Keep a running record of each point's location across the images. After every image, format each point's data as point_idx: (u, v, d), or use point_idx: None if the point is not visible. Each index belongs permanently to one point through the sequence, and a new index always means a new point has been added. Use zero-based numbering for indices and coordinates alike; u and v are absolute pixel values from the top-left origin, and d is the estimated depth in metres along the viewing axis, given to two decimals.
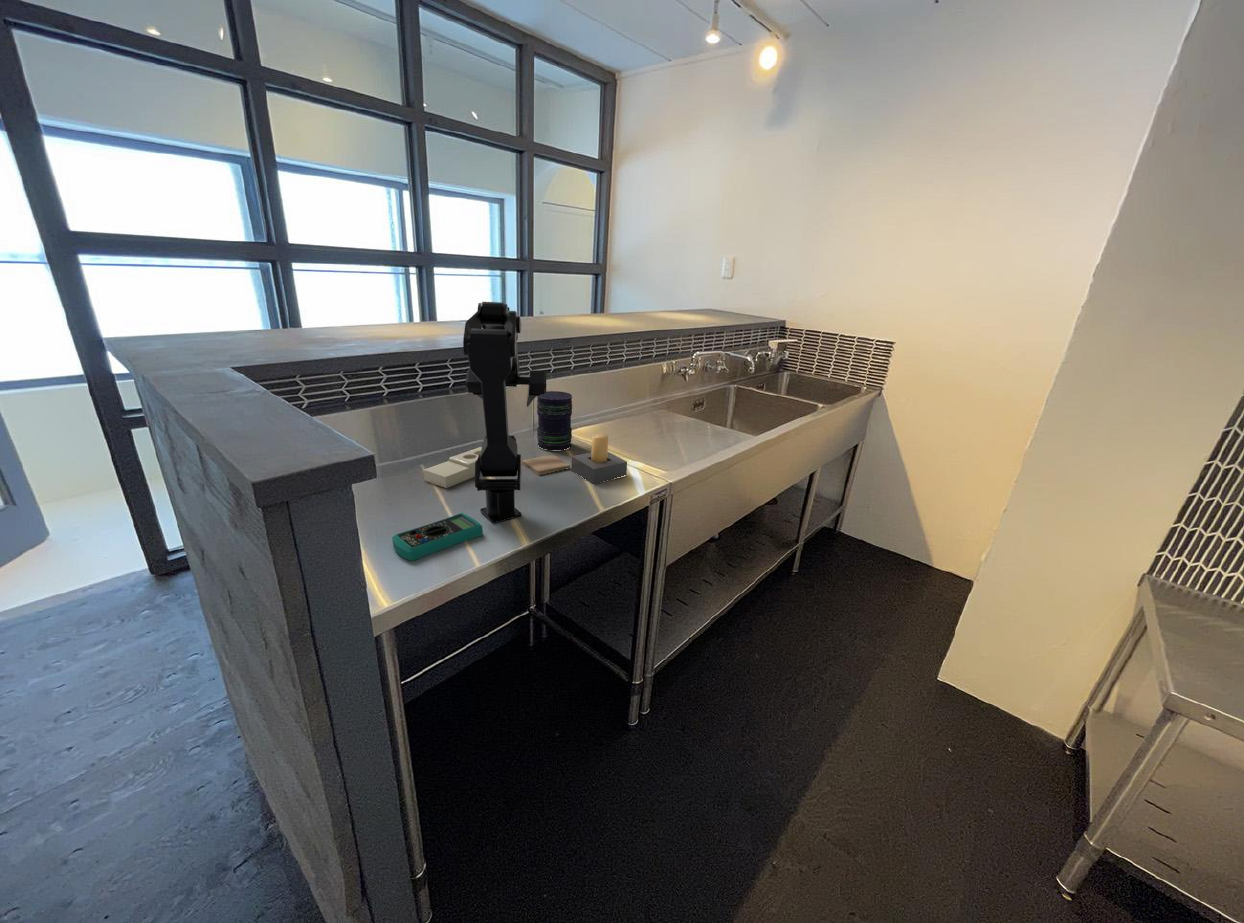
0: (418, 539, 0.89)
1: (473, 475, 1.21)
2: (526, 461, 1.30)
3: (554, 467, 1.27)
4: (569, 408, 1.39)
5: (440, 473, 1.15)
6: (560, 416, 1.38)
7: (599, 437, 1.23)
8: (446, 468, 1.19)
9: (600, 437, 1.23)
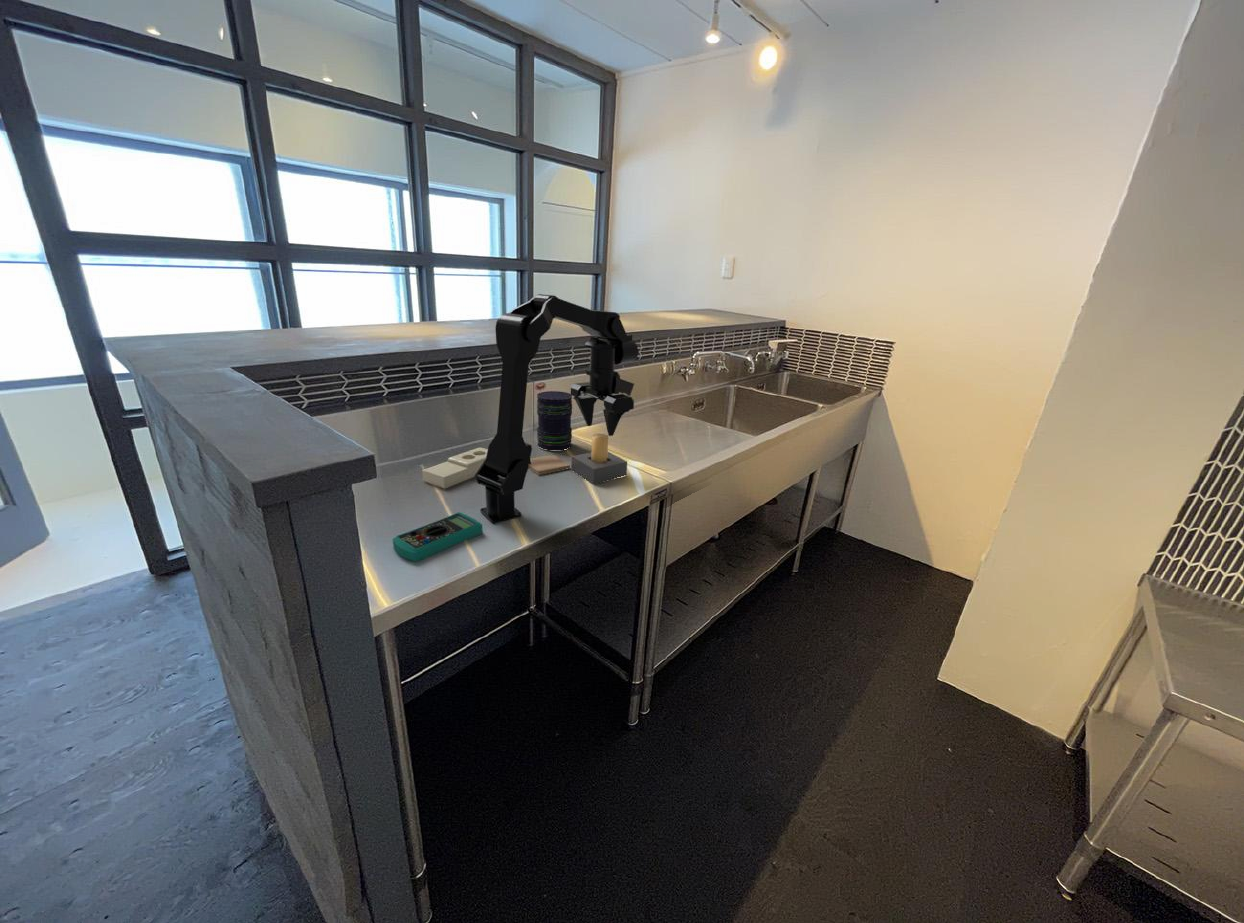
0: (420, 540, 0.89)
1: (472, 475, 1.21)
2: None
3: (554, 467, 1.27)
4: (569, 408, 1.39)
5: (439, 473, 1.15)
6: (560, 416, 1.38)
7: (599, 437, 1.23)
8: (445, 468, 1.18)
9: (600, 437, 1.23)
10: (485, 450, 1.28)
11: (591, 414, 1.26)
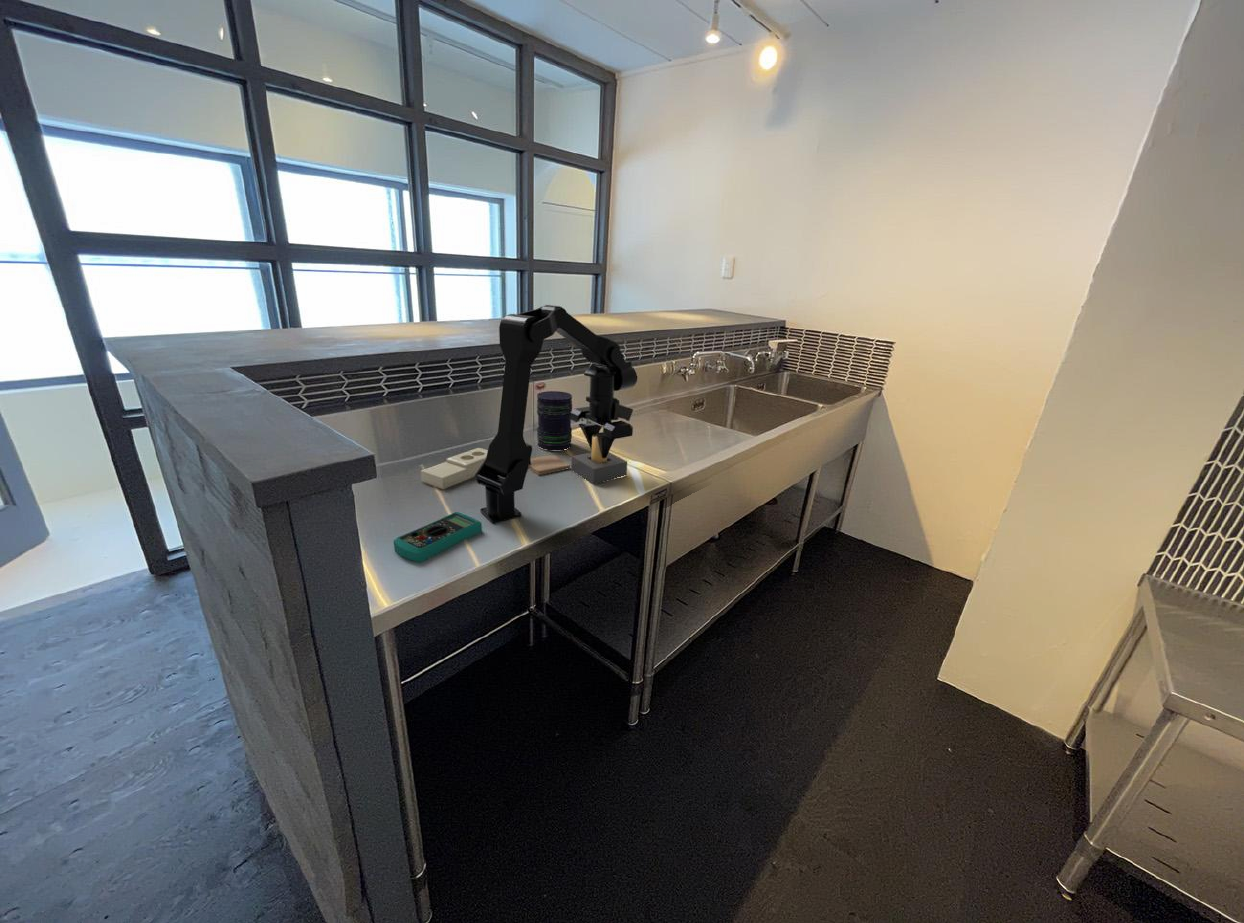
0: (422, 540, 0.89)
1: (470, 476, 1.21)
2: None
3: (554, 467, 1.27)
4: (569, 408, 1.39)
5: (437, 474, 1.15)
6: (560, 416, 1.38)
7: None
8: (443, 468, 1.18)
9: None
10: (484, 450, 1.28)
11: None
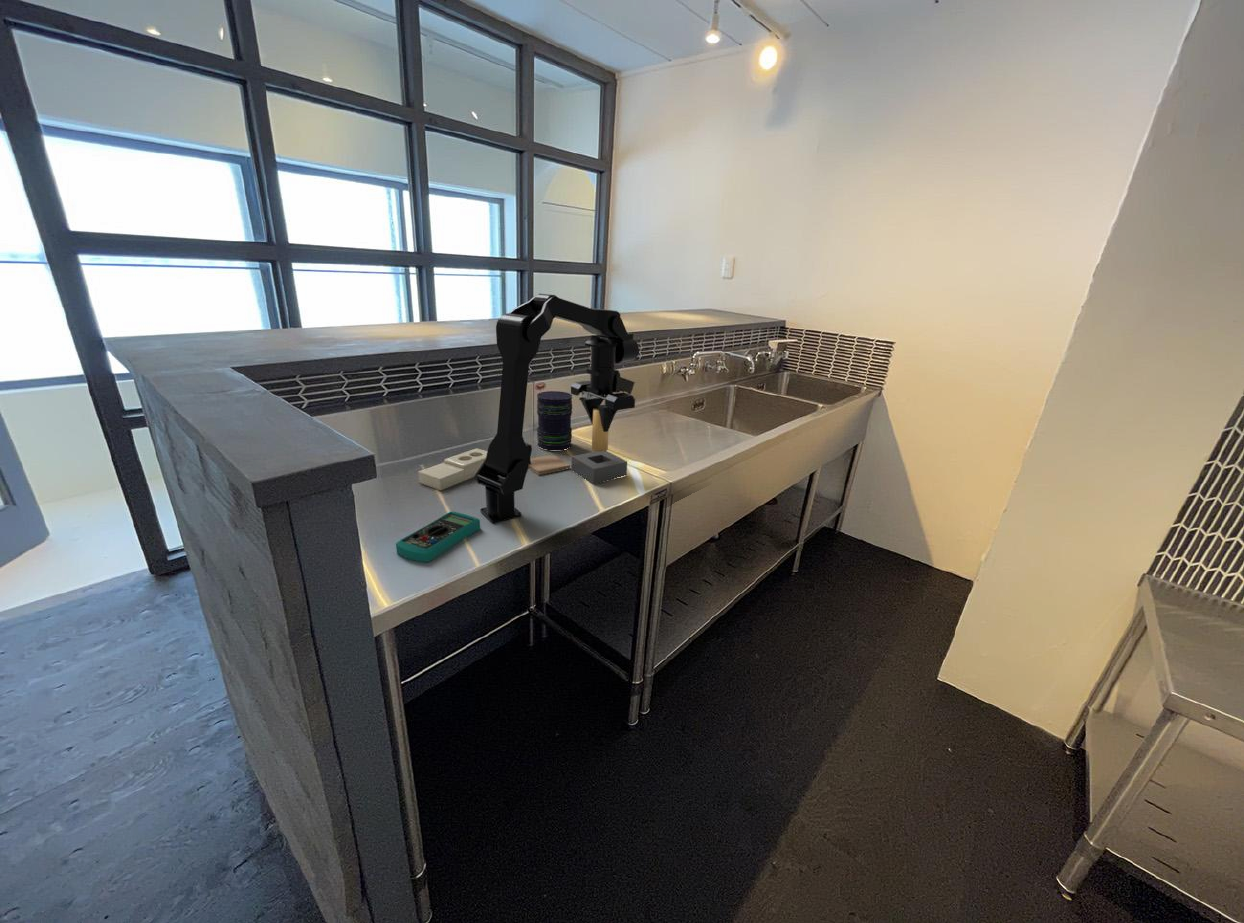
0: (426, 541, 0.89)
1: (468, 477, 1.20)
2: None
3: (554, 467, 1.27)
4: (569, 408, 1.39)
5: (435, 475, 1.14)
6: (560, 416, 1.38)
7: None
8: (441, 469, 1.17)
9: None
10: (482, 451, 1.27)
11: None
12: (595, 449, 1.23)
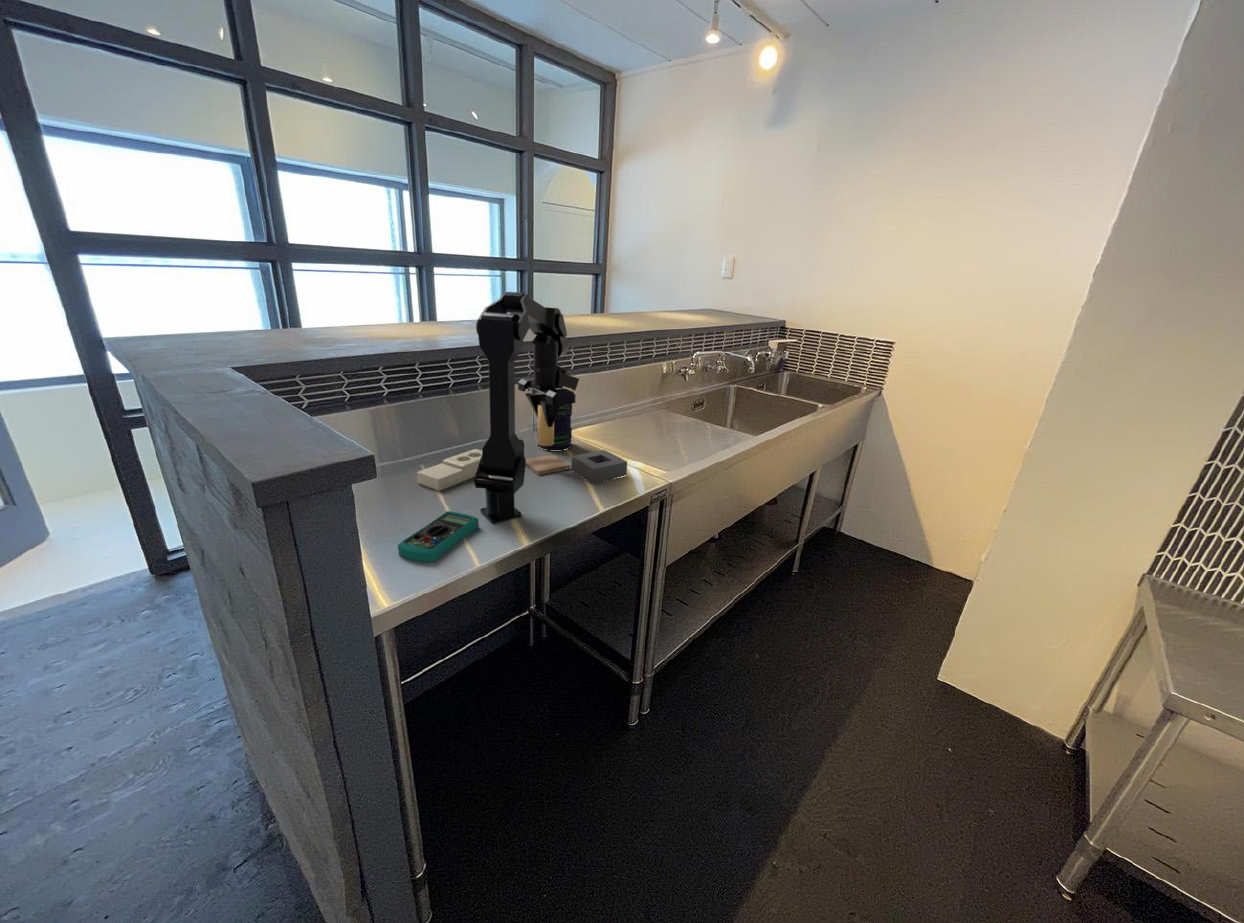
0: (429, 541, 0.89)
1: (467, 477, 1.20)
2: (526, 461, 1.30)
3: (554, 467, 1.27)
4: (569, 408, 1.39)
5: (433, 475, 1.14)
6: (560, 416, 1.38)
7: None
8: (439, 470, 1.17)
9: None
10: (480, 452, 1.27)
11: None
12: (540, 444, 1.26)
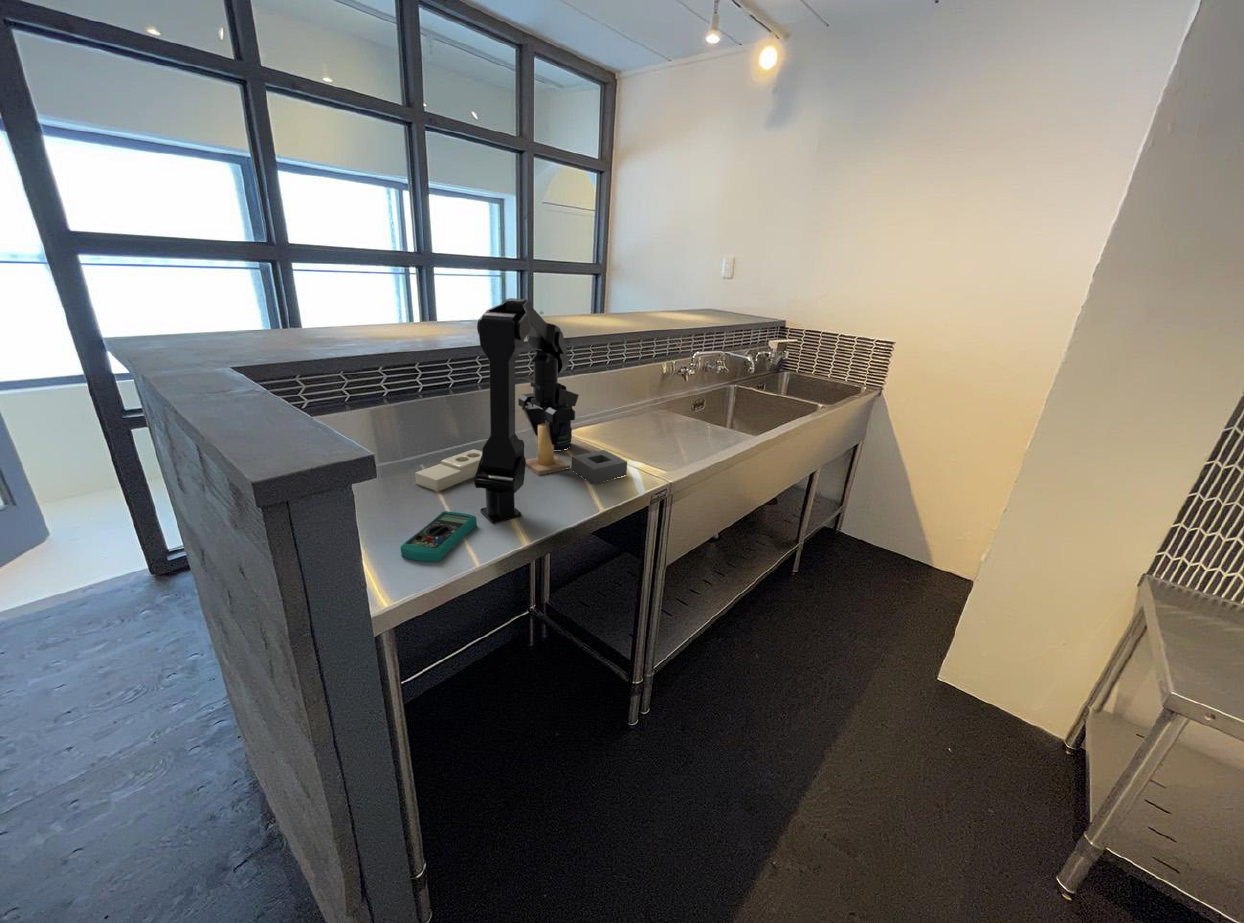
0: (432, 541, 0.89)
1: (465, 478, 1.19)
2: (526, 461, 1.30)
3: (554, 467, 1.27)
4: None
5: (432, 476, 1.14)
6: None
7: (544, 426, 1.25)
8: (438, 470, 1.17)
9: (545, 426, 1.25)
10: (479, 452, 1.27)
11: None
12: (540, 463, 1.28)
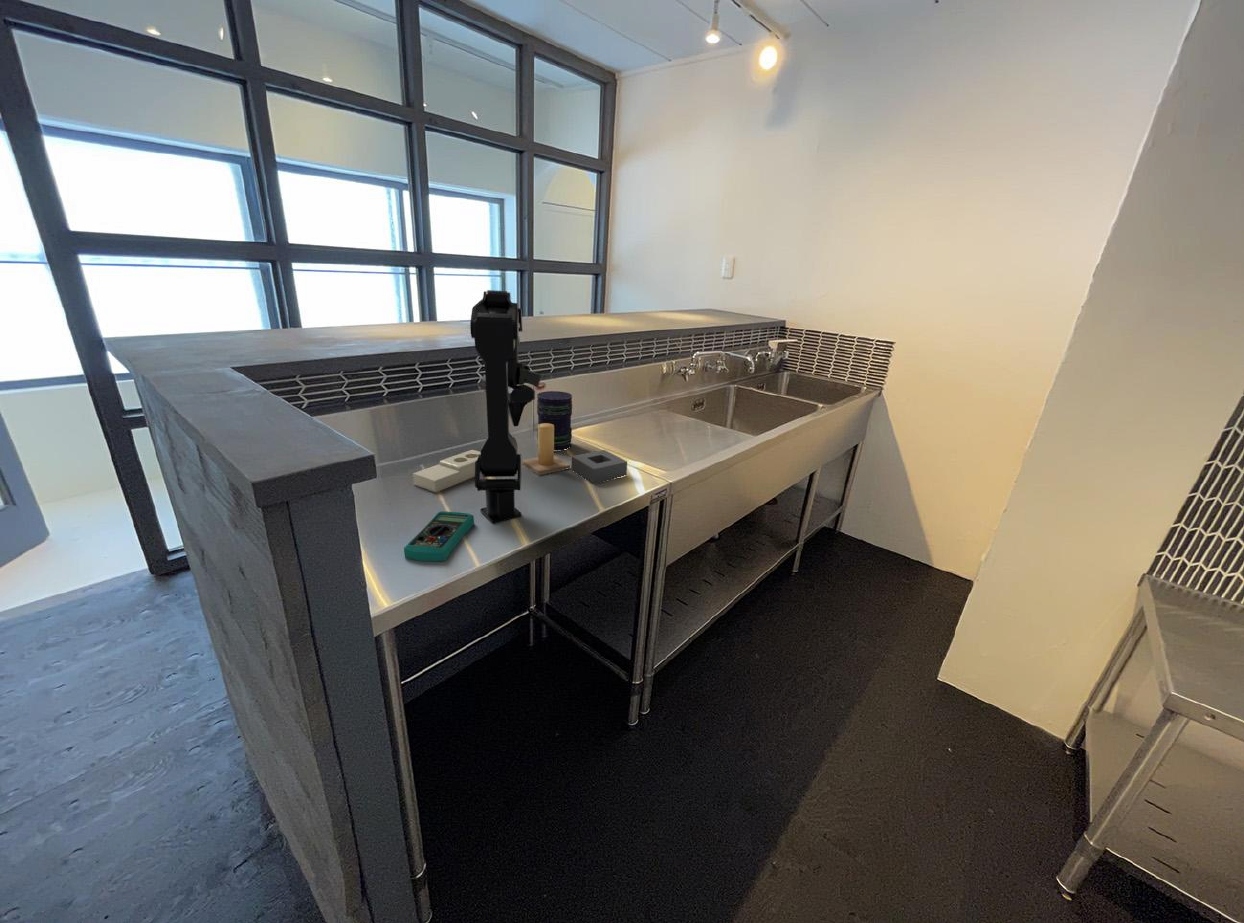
0: (435, 541, 0.89)
1: (464, 479, 1.19)
2: (526, 461, 1.30)
3: (554, 467, 1.27)
4: (569, 408, 1.39)
5: (430, 477, 1.13)
6: (560, 416, 1.38)
7: (544, 426, 1.26)
8: (436, 471, 1.16)
9: (545, 426, 1.25)
10: (477, 453, 1.26)
11: None
12: (540, 463, 1.28)
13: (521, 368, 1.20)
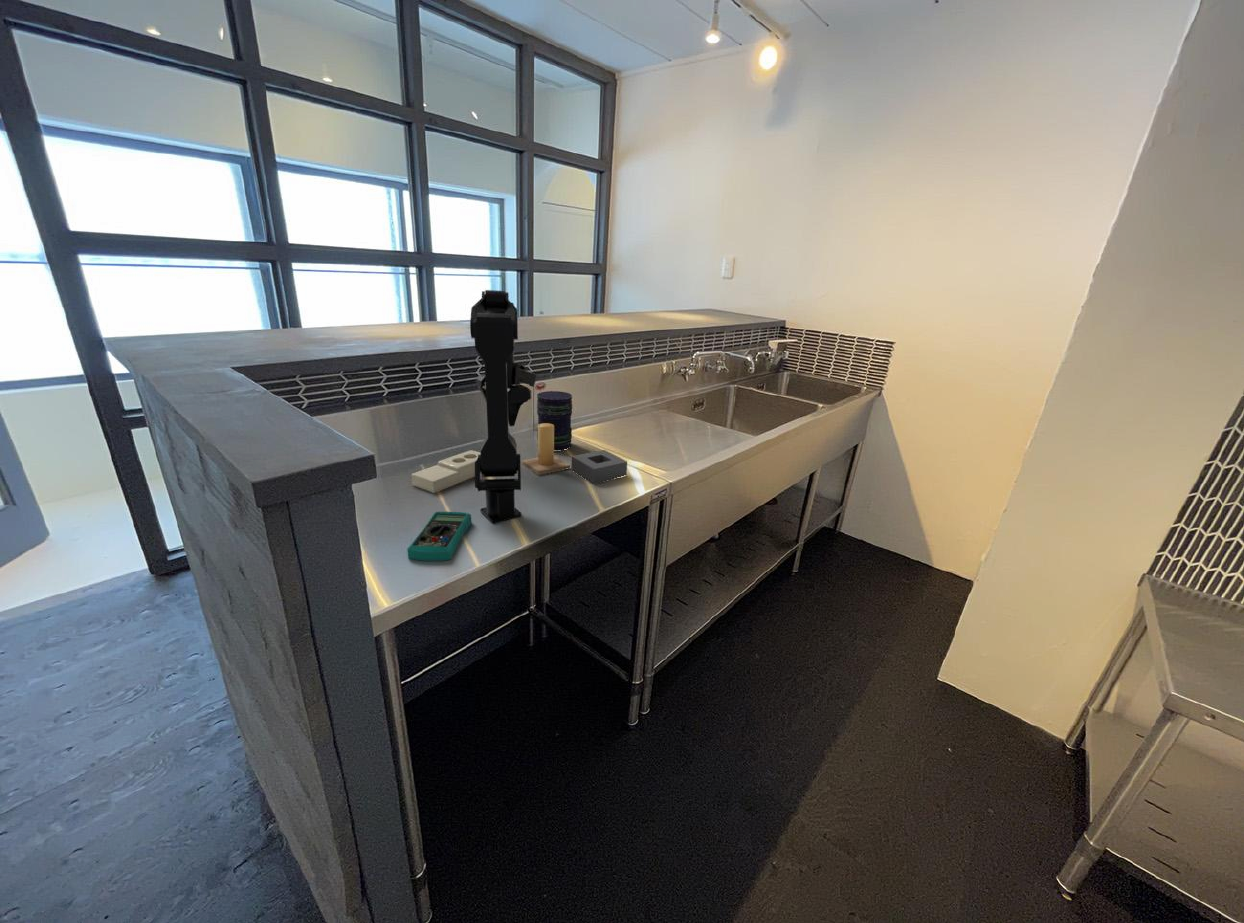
0: (438, 540, 0.89)
1: (462, 479, 1.18)
2: (526, 461, 1.30)
3: (554, 467, 1.27)
4: (569, 408, 1.39)
5: (428, 477, 1.13)
6: (560, 416, 1.38)
7: (544, 426, 1.26)
8: (434, 472, 1.16)
9: (545, 426, 1.25)
10: (476, 453, 1.26)
11: None
12: (540, 463, 1.28)
13: (517, 368, 1.20)
